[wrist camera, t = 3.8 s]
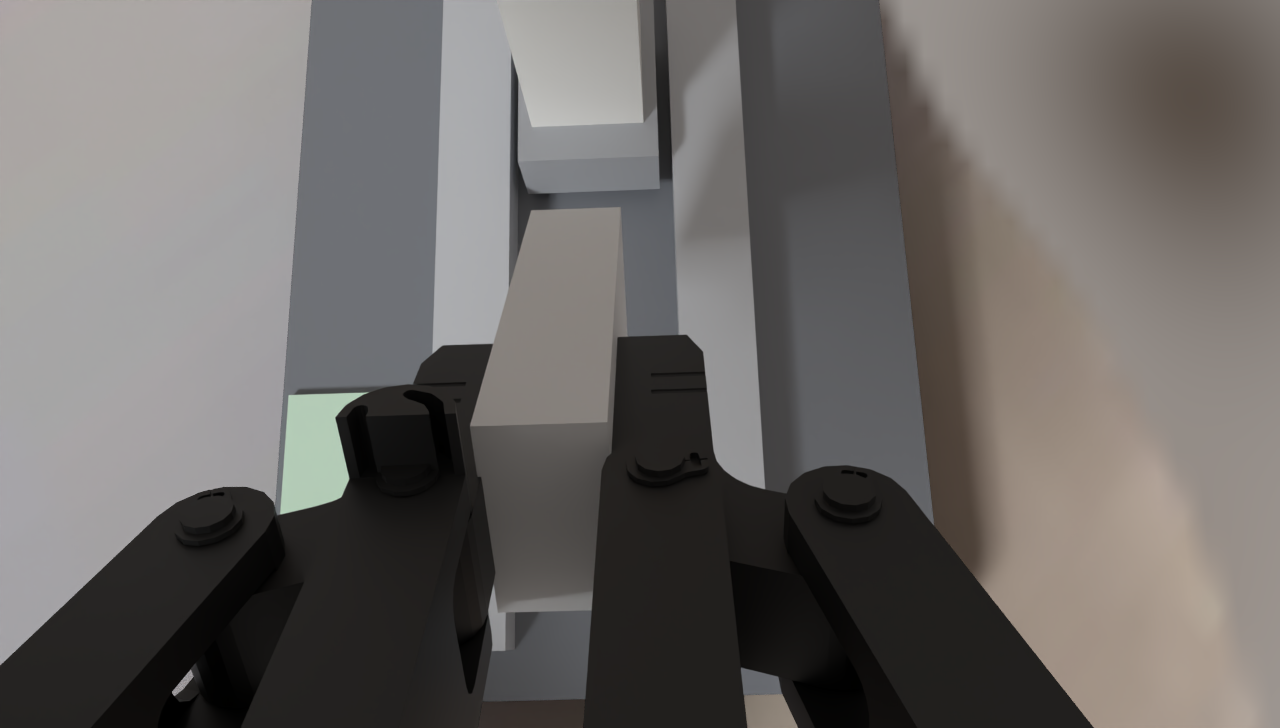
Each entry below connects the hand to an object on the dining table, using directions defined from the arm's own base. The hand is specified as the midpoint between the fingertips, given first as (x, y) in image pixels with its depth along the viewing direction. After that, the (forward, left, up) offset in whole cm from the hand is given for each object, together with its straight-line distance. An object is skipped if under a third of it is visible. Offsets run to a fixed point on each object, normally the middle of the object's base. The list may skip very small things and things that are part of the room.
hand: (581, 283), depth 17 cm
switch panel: (-5, +3, -8) cm, 10 cm away
